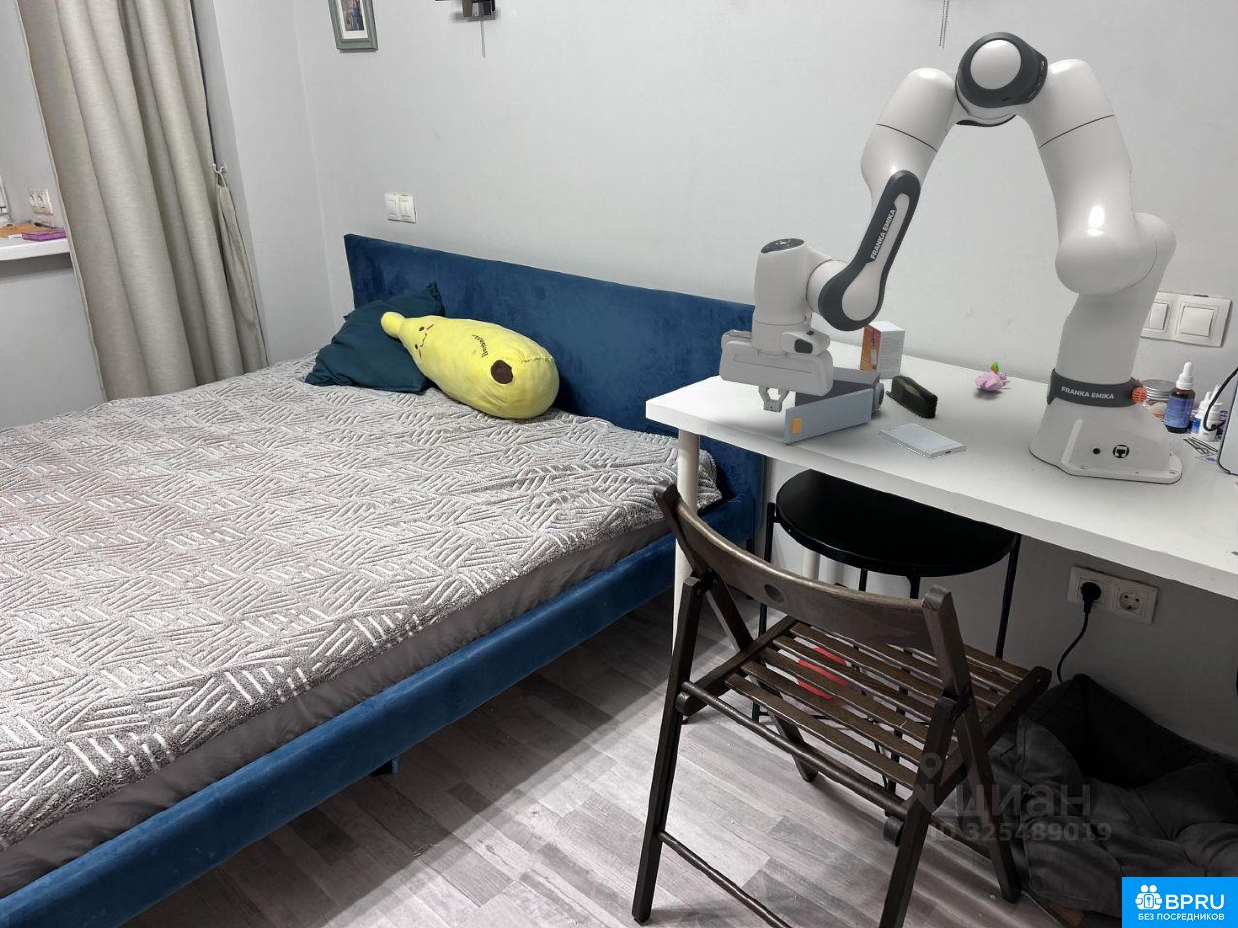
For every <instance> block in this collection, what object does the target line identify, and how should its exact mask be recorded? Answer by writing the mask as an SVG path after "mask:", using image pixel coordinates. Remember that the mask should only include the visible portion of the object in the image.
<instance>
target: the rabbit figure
mask: <svg viewBox="0 0 1238 928" xmlns="http://www.w3.org/2000/svg"><path fill="white" fill-rule="evenodd" d="M990 370H991V371H989V372H986V373H984V374H982V375H981V374H980V375H978V377H977V378H975V380H974V381H975V384H976V386H977V387H978V388H981V389H983V390H985V391H987V392H988V391H989V392H994V390H995V391H996V390H997V391H998V390H1000V389H1001V388H1003V387H1004V384H1007V383H1011V380H1010V379H1007V373H1003V372H1001V371H1000V368H999V362H998V361H994V362H993V363H992V365H991V367H990Z"/></svg>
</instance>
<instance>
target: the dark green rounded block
mask: <svg viewBox="0 0 1238 928" xmlns="http://www.w3.org/2000/svg"><path fill="white" fill-rule="evenodd" d="M891 379H892V380H891V387H890V391H888V390H885V391H884V394H885V395H887V396H889V397H891V398H893V399H894V400H895V401H897V402H899V404H901V405H903V406H904V407H905V408H907V409H908V410H909V411H911V412H912V413H914V414H915V413H916V414H915V415H917V414H918V415H919V416H918V415H917V416H918V417H920V416H921V418H923V417H925V419H933V418H935V417H936V412H937V406H938V401H939V399H938V395H936V394H935V393H933V392H931V391H930V390H928V389H927V388H926V387H924V386H922V385H920V384H919V383H918V382H917V381H915V380H914V379H913V378H912V377H909V376H906V375H899V376H895V377H894V378H891Z"/></svg>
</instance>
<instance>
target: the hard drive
mask: <svg viewBox="0 0 1238 928" xmlns="http://www.w3.org/2000/svg"><path fill="white" fill-rule="evenodd" d="M878 436H880V437H881V436H882V438H884V439H886V440H888V441H890V442H893V443H894V442H895V443H894V444H896V443H899V444H901V445H903V446H905V447H907V448H910V449H912V450H914V451H916V452H918V453H920V454H922V455H925V456H926V457H925V458H927V457H928V458H927V459H929V458H933V459H935V458H934V457H937V458H939V457H938V456H941V457H943V456H942V455H945V456H948V455H947V454H949V455H952V454H951V453H953V454H956V452H957V453H960V452H964V451H966V449H967V445H965V444H962V443H960V442H958V441H955V440H954V439H951V438H950V437H946V436H944V435H943V434H940V433H938V432H935V431H933V430H930V429H928V428H926V427H923V426H921V425H920V424H917V423H914V422H909V423H904V424H900V425H895V426H891V427H887V428H882V429H880V430H879V431H878ZM899 444H898V445H899ZM901 445H900V446H901ZM903 446H902V447H903ZM905 447H904V448H905ZM907 448H906V449H907ZM914 451H913V452H914ZM916 452H915V453H916ZM918 453H917V454H918ZM920 454H919V455H920ZM922 455H921V456H922Z"/></svg>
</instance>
